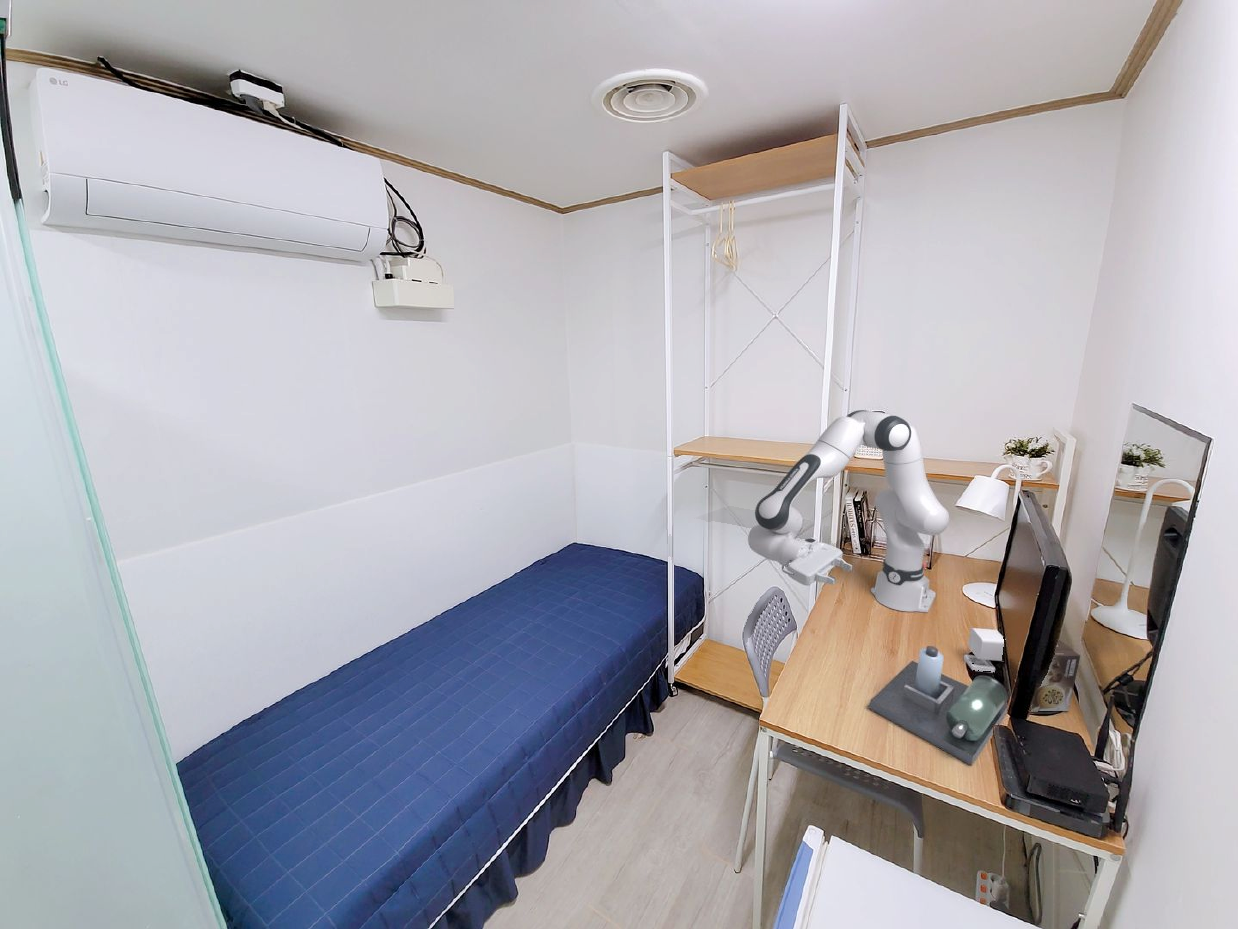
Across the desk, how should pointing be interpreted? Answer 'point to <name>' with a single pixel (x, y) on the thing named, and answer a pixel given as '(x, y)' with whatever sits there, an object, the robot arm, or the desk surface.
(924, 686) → the capped plastic bottle
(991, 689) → the motor mount
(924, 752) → the desk surface
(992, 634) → the security camera
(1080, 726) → the desk surface
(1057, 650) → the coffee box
